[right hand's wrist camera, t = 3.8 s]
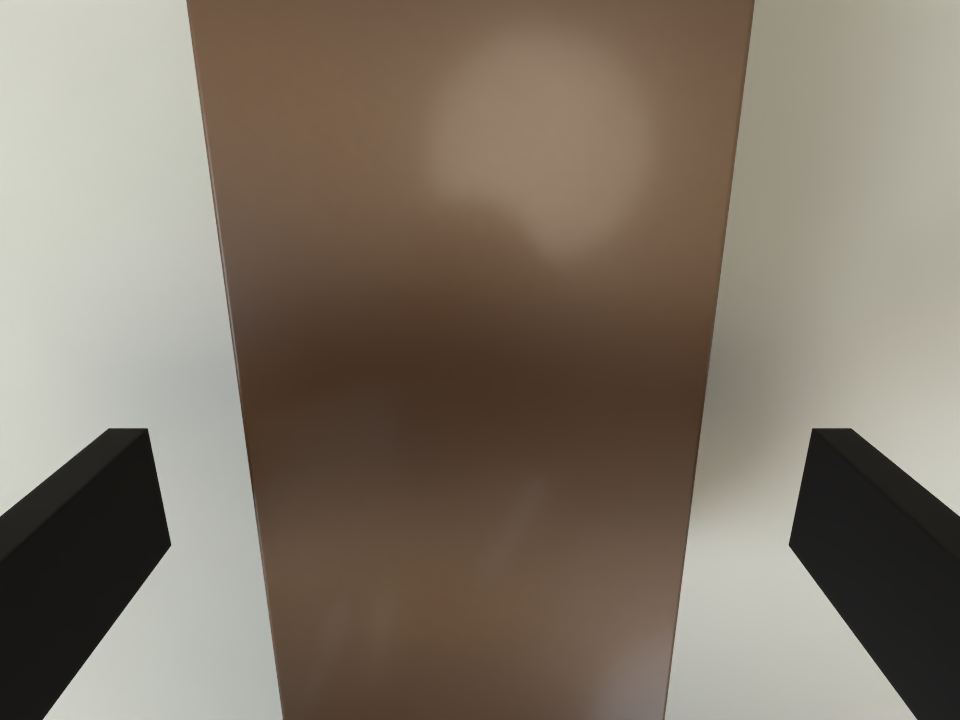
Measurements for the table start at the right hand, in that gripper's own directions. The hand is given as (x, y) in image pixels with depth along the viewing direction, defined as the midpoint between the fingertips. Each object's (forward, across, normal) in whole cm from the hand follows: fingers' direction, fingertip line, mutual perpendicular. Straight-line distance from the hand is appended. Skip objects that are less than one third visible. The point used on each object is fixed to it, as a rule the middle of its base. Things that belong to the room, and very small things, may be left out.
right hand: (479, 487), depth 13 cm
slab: (+7, 0, -21) cm, 22 cm away
